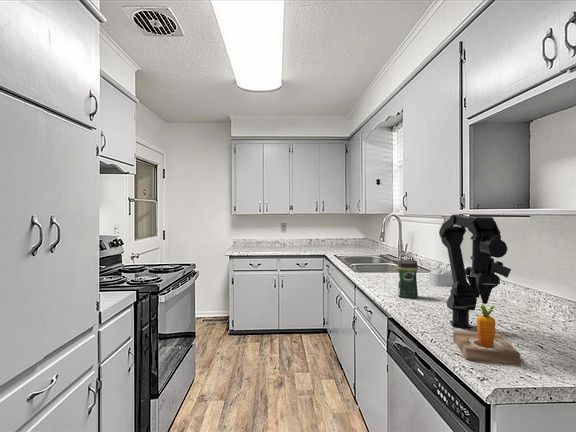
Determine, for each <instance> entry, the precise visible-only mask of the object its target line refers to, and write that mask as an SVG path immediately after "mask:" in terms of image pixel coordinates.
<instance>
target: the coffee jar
mask: <svg viewBox="0 0 576 432" xmlns="http://www.w3.org/2000/svg"><path fill="white" fill-rule="evenodd" d="M397 265H398V266H397V270H398V285H397V296H398V297H400V298H403V299H415V298H418V296H419V293H418V282H417V273H418V270H419V269H418V268H419V267H418V262H417V260H416V259H399V260H398V264H397Z"/></svg>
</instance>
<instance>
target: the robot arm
mask: <svg viewBox="0 0 576 432" xmlns="http://www.w3.org/2000/svg"><path fill="white" fill-rule="evenodd" d="M466 228H467V229H466ZM467 231H468V232H470V233H471V234H472V236H470V240H472V243H471V244H472V249H471V250H472V254H471V256H470V260H471V266H467V267H466V268H465V263H464V258H463V252H462V248H461V247H462V246H461V245H462V243H463V240H464V235H465V234H466V232H467ZM438 235H439V237H440V239H441V240H440V241H441V243H442V244H443V245H444V246H445V248H446V249H447V253H448V259H449V260H448V261H449V267H450V272H452V277H453V283H454V284H453V286H451V289H450V295H449V296H448V299H447V300H446V307H447V308H448V309H450V310H451V313H452V316H451V317H452V319H451V320H449V323H450V324H451V326H452V327H453V328H464V329H465V328H466V329H472V328H473V326H472V325H471V324H470V311H476V307H477V302H478V299H479V298H480V299H481V302H482V304H483V305H487V304H488V301H489V299H490V296H491V294H492V293H491V292H492V291H493V289H494V288H496V287H498V286H499V285H501V277H499V276H498V275H500V276H503V277H504V278H506V279H507V278H509V275H510V273H511V271H512V269H511V267H510V268H509V267H507V266H504V263H503V262H502V261H498V260H496V261H495V259H494V258H496V259H497V258H502V257H504V256H505V255H506V254H507V252H508V246H507V243H506V242H505V241H504V240H502V235H501V231H500V229H499V226H498V224H497V221H496V220H495V219H494V217H493V216H470V215H469V216H468V215H466V214H463V213H462V214H459V213H458V214H455V213H454V214H451V215H450V217H449V218H448V219H447V220H446V221H444V222H442V224H441V226H440V228H439V234H438Z"/></svg>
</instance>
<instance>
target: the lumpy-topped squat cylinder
mask: <svg viewBox="0 0 576 432" xmlns="http://www.w3.org/2000/svg"><path fill="white" fill-rule="evenodd" d="M428 274H429V277H428V279H429V280H428V283H429V285H431V286H433V287H444V288H445V287H453V284H454V283H453V277H452V272H451V270H448V269H441V268H438V269H433V270H431V271H429V273H428Z"/></svg>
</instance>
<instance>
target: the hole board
mask: <svg viewBox="0 0 576 432" xmlns="http://www.w3.org/2000/svg"><path fill="white" fill-rule="evenodd" d="M452 340H453V341H454V344H456V346H457V348H458V349H459V350H460V353H461V354H462V356H463V357H464V358H465V360H467V361H468V360H469V361H476V362H477V361H480V362H491V363H503V364H505V363H506V364H514V365H516V364H517V365H520V364H521V362H520V361H521V353H520V352H519V350H517V349H516V348H515V347H514V346H513V345H511V344H510V342H508V341H507V340H506V339H505V338H504V337H503V336H502V335H501V333H498V332H495V336H494V341H493V345H492V347H491V348H485V347H481V345H480V343H479V338H478V333H477V331H471V330H455V329H453V331H452Z"/></svg>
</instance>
